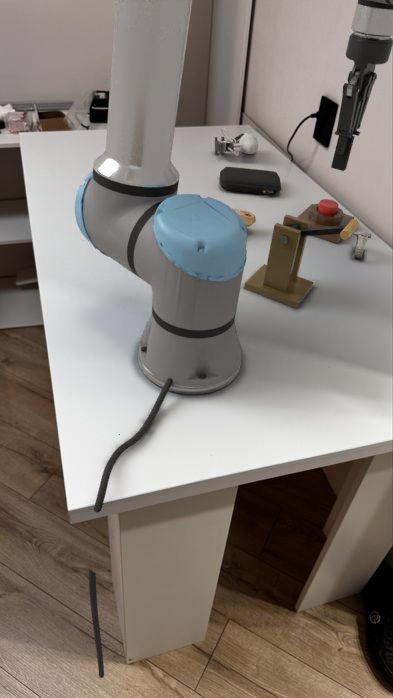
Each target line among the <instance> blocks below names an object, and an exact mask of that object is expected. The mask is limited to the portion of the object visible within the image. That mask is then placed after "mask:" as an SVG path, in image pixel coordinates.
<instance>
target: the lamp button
mask: <svg viewBox="0 0 393 698" xmlns="http://www.w3.org/2000/svg"><path fill="white" fill-rule="evenodd" d="M338 208H339V203H338V202H337V201H335V200H333V199H329V198H323V199H320V200H319V206H318V212H319V213H321V214H324V215H331V216H332V215H336V213H337V209H338Z"/></svg>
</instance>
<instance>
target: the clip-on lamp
mask: <svg viewBox="0 0 393 698" xmlns="http://www.w3.org/2000/svg"><path fill="white" fill-rule="evenodd" d="M220 130H221V133H222V136H221V137H220V140H218V136H215V137H214V154H215V155H218V154H222V155H223V154H225V153H229V154H230V153H231V154H233V155H234V156H236V157H239V152H238V150H236V148H239V150H240V151H241V152H242V153H243V154H246V155H253V154H255V153H256V152H258V149H259V144H258V143H259V142H258V141H259V140H258V138H257V137H256V136H255V134H252V133H247V132H245V133H241V134H238V135H237V136H235V137H234V136H233V135H232V134H231V133H230V131H229V132H228V130H226V128H224V127H222V126H221V127H220ZM224 132H225V133H226V134H228V135H229V136H230V137H231V138H232V139H231V140H229V139H228V138H227V137H226V135H225V133H224ZM237 141H238V143H237Z"/></svg>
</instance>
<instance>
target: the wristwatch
mask: <svg viewBox="0 0 393 698" xmlns="http://www.w3.org/2000/svg"><path fill="white" fill-rule="evenodd" d="M353 235H354V236H356V243H355V245H354V246H355V248H354V250H353V252H352V258H355V259H356V258H357V259H359V260H360V259H362V257H363V254H364V251H365V247H366V243H367V241H368V239H372V238H373V237H372V234H370V233H369V232H365V231H359V230H358V231H354V232H353Z"/></svg>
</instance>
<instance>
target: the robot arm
mask: <svg viewBox="0 0 393 698" xmlns="http://www.w3.org/2000/svg"><path fill="white" fill-rule="evenodd" d="M192 5H193V0H115V6H114V18H113V19H114V21H113V23H114V24H113V35H112V51H111V67H110V78H109V79H110V80H109V93H108V94H109V96H108V108H107V109H108V111H107V125H106V138H105V139H106V140H105V151H104V152H103V153H102V154H101V155H100V156H98V157H97V158H96V159H95V160H94V161H93V164H92V171H90V172H89V173H88V174H87V175H86V176H85V177H84V178H83V179H84V183H83V184H80V185H79V187H78V189H77V191H76V195H75V199H74V217H75V221H76V222H75V223H76V224H77V227H78V229H79V231H80V233H81V234H82V236H83V237H84V238H85V239H86V240H87V241H88V242H89V244H91V245H92V247H94V248H95V249H96V250H97V251H99V253H101V254H102V255H104V256H106V257H107V258H108V257H109V258H110V259H111V260H113V261H115V262H116V263H118V264H119V265H121V266H122V268H125V269H126V270H128V271H129V272H131V273H132V274H133V275H135V276H136V277H138V278H139V279H140V280H141V281H143V282H145V283H147V284H148V285H149V286H150V287H151V290H152V292H151V314H150V316H149V318H148V320H147V323H146V325H145V328H144V329H143V331H142V334H141V337H140V338H139V342H138V347H137V362H138V366H139V368H140V370H141V372H142V373H143V374H144V376H145V377H146V378H147V379H148V380H149V381H151V382H152V383H153V384H155V385H157V386H158V387H159V388H162V389H161V390H160V392H159V395H158V396H157V398H156V400H155V402H154V404H153V406H152V408H151V411H150V412H149V414H148V416H147V417H146V419H145V421H144V423H143V424H142V426H141V427H140V428H139V429H138V431H137V432H136V433H135V434H134V435H133V436H132V437H130V439H128V440H126V441H124V443H121V445H119V446H118V447H117V448H116V449H115V450H114V451H113V453H112V454H111V456H110V457H109V459H108V460H107V462H106V464H105V466H104V469H103V471H102V475H101V479H100V483H99V487H98V492H97V494H96V498H95V502H94V507H93V511H94V513H96V514H97V513H100V512H101V511H102V509H103V505H104V501H105V499H106V495H107V490H108V486H109V481H110V478H111V474H112V471H113V469H114V466H115V464H116V463H117V461H118V459H119V458H120V457H121V455H122V454H123V453H125V452H126V451H127V450H128V449H130V448H132V446H134V445H136V444H137V443H138V442H139V441H140V440H141V439H142V438H143V437H144V436H145V434H146V433H147V432H148V430H149V429H150V427H151V425H152V424H153V422H154V421H155V418H156V417H157V415H158V414H159V411H160V409H161V407H162V404H163V402H164V400H165V399H166V396H167V395H168V392H169V391H170V392H173V393H177V394H183V395H184V394H185V395H204V394H209V393H213V392H216V391H218V390H221V389H224V388H225V387H226V386H229V385H230V383H232V382H233V381H234V380H235V378H236V377H237V376H238V374H239V372H240V369H241V364H242V357H243V356H242V355H243V354H242V346H241V342H240V338H239V333H238V328H237V324H236V316H237V309H238V304H239V300H240V299H239V298H240V292H241V287H242V281H243V276H244V270H245V266H246V263H247V253H248V252H247V251H248V250H247V245H248V232H247V228H246V227H245V224H244V222H243V220H242V218H241V217H240V216H239V215H238V214H237V212H236V211H234V210H233V209H234V208H233V207H231V206H229V205H228V204H226V203H224V202H222V201H221V200H218V199H216V198H213V197H211V196H207V197H202V196H201V195H200V194H195V193H182V194H178V190H179V183H180V173H179V170H178V169H177V168H176V167H175V165H174V164H173V163H172V161H171V159H172V152H173V145H174V138H175V132H176V131H175V130H176V123H177V118H178V117H177V116H178V108H179V103H180V102H179V101H180V94H181V88H182V86H181V85H182V80H183V71H184V65H185V59H186V57H185V56H186V50H187V44H188V43H187V42H188V35H189V29H190V20H191V12H192ZM350 29H351V30H352V31H353V32H352V33H351V34H350V35H349V38H348V42H347V47H346V50H345V57H346V59H348V60H350V61H353V63H354V64H353V66H352V69H351V70H349V73H348V76H347V82H345V83H343V85H342V98H341V103H340V109H339V114H338V121H337V127H336V130H335V131H334V135H335V136H338V138H337V140H336V141H337V142H336V145H335V150H334V153H333V157H332V162H331V165H330V168H331V169H334V170H338V171H341V172H344V171H346V170H347V167H348V163H349V159H350V155H351V152H352V148H353V145H354V144H353V143H354V141H355V137H356V136H357V137H359V136H360V134H361V131H359V129H360V128H361V125H362V122H363V118H364V115H365V113H366V109H367V107H368V103H369V100H370V96H371V94H372V90H373V88H374V85H375V83H376V80H377V78H378V74H377V72H375V71H376V66H377V65H384V64H386V63H388V62H389V60H390V56H391V53H392V49H393V38H392V37H393V0H357V2H356V7H355V11H354V15H353V19H352V24H351V28H350ZM232 208H233V209H232ZM88 589H89V603H90V604H89V605H90V612H91V621H92V628H93V629H92V630H93V636H94V643H95V651H96V658H97V670H98V677H99V679H103V678H104V677H105V667H104V655H103V654H104V653H103V646H102V638H101V637H102V635H101V629H100V618H99V609H98V597H97V596H98V595H97V573H96V572H95V571H93V569H90V568H88Z"/></svg>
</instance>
